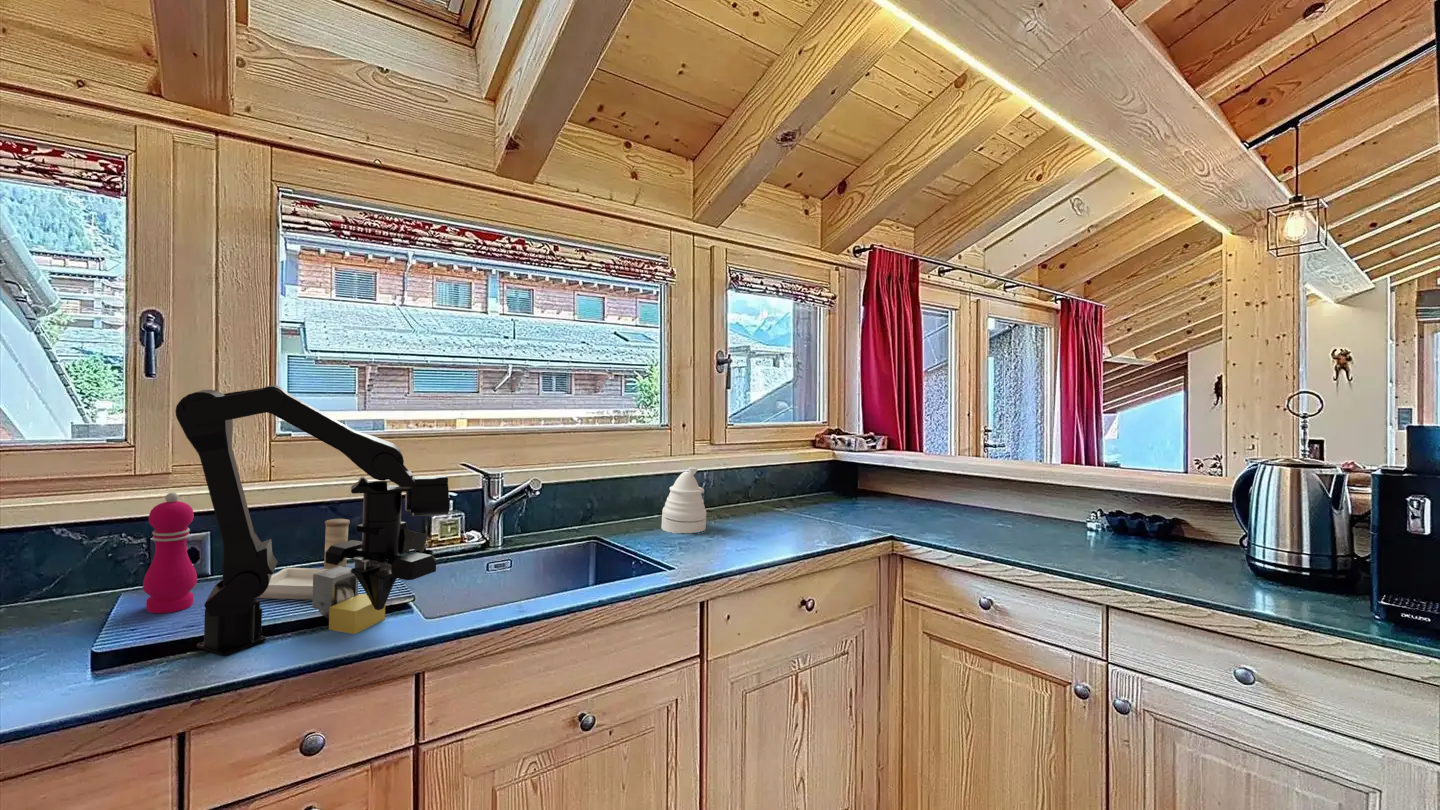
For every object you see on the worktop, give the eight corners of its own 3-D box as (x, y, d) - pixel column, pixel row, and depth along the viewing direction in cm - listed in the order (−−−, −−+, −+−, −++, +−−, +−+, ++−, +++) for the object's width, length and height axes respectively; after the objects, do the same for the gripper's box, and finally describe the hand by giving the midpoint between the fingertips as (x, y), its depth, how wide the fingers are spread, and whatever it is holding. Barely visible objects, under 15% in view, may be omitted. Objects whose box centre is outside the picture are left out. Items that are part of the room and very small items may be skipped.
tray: (325, 599, 123) (325, 586, 123) (255, 598, 122) (256, 584, 121) (349, 581, 133) (350, 569, 133) (285, 580, 132) (285, 567, 131)
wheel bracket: (334, 625, 112) (335, 579, 112) (308, 618, 114) (309, 573, 114) (360, 614, 117) (362, 570, 117) (335, 608, 119) (336, 565, 119)
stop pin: (333, 579, 134) (335, 525, 133) (317, 575, 135) (319, 521, 135) (352, 573, 138) (354, 521, 137) (336, 569, 139) (339, 517, 139)
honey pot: (714, 528, 195) (718, 468, 194) (688, 536, 184) (692, 472, 183) (678, 521, 202) (682, 462, 201) (652, 528, 191) (655, 466, 190)
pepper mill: (166, 617, 111) (167, 498, 110) (131, 611, 112) (132, 494, 111) (207, 602, 118) (209, 491, 117) (174, 597, 120) (175, 487, 118)
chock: (354, 635, 109) (355, 611, 109) (328, 630, 110) (329, 607, 110) (384, 620, 116) (385, 597, 116) (360, 616, 117) (360, 593, 117)
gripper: (461, 516, 116) (457, 603, 117) (378, 502, 122) (376, 585, 123) (411, 529, 105) (408, 626, 106) (324, 513, 112) (321, 605, 113)
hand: (379, 609), depth 112 cm, fingers closed
